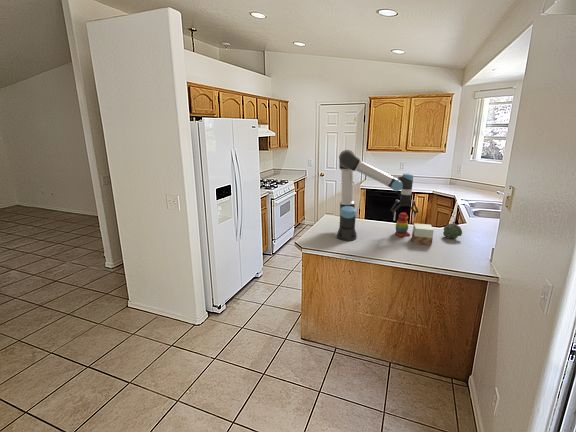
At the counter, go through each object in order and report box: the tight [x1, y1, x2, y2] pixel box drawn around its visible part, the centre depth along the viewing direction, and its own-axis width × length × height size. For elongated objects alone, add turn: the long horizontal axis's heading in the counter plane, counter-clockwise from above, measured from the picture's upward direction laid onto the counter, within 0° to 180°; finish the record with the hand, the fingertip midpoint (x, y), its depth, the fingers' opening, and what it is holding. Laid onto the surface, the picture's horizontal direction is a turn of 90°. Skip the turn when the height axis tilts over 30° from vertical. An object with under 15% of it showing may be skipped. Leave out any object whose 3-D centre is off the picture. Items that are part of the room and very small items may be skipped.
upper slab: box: [412, 223, 434, 238], centre depth 230 cm, size 12×12×6 cm
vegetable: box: [443, 223, 463, 240], centre depth 239 cm, size 12×13×15 cm
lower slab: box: [411, 231, 434, 246], centre depth 231 cm, size 12×12×6 cm
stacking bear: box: [394, 211, 411, 238], centre depth 243 cm, size 11×10×18 cm
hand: (403, 220), depth 243 cm, fingers open, 13 cm apart
